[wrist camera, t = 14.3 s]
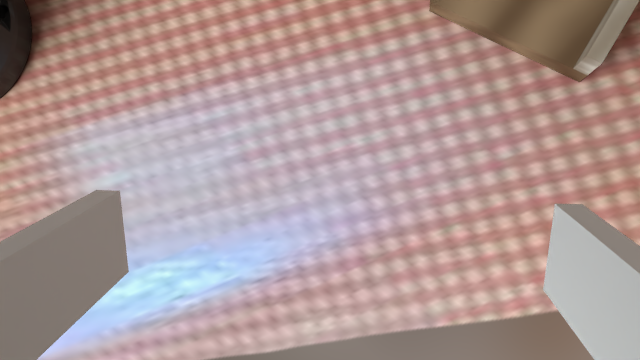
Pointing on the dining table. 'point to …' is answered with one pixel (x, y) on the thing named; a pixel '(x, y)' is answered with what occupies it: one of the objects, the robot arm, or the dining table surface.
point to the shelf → (545, 28)
